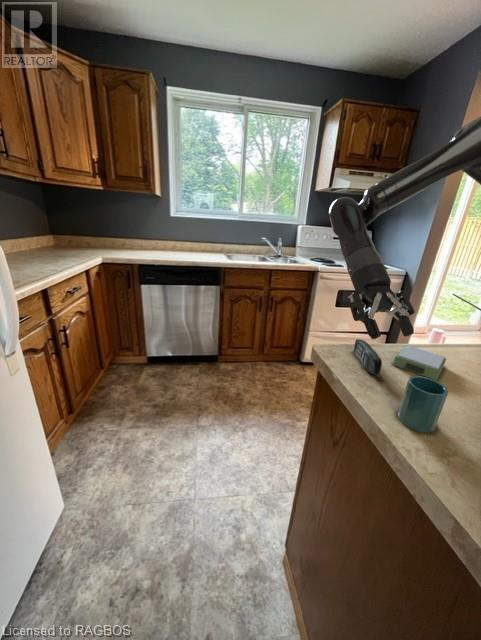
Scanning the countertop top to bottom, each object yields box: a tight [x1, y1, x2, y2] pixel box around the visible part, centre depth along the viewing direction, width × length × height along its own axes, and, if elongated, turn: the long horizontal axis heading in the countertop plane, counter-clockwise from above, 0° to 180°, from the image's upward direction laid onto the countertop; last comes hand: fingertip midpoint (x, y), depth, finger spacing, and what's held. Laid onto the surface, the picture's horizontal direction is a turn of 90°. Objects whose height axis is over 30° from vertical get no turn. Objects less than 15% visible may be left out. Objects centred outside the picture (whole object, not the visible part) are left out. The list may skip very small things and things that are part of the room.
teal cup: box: [397, 375, 449, 434], centre depth 51 cm, size 6×6×8 cm
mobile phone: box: [352, 338, 383, 381], centre depth 72 cm, size 5×3×15 cm
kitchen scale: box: [392, 345, 447, 381], centre depth 73 cm, size 11×10×3 cm
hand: (393, 336), depth 57 cm, fingers open, 8 cm apart
